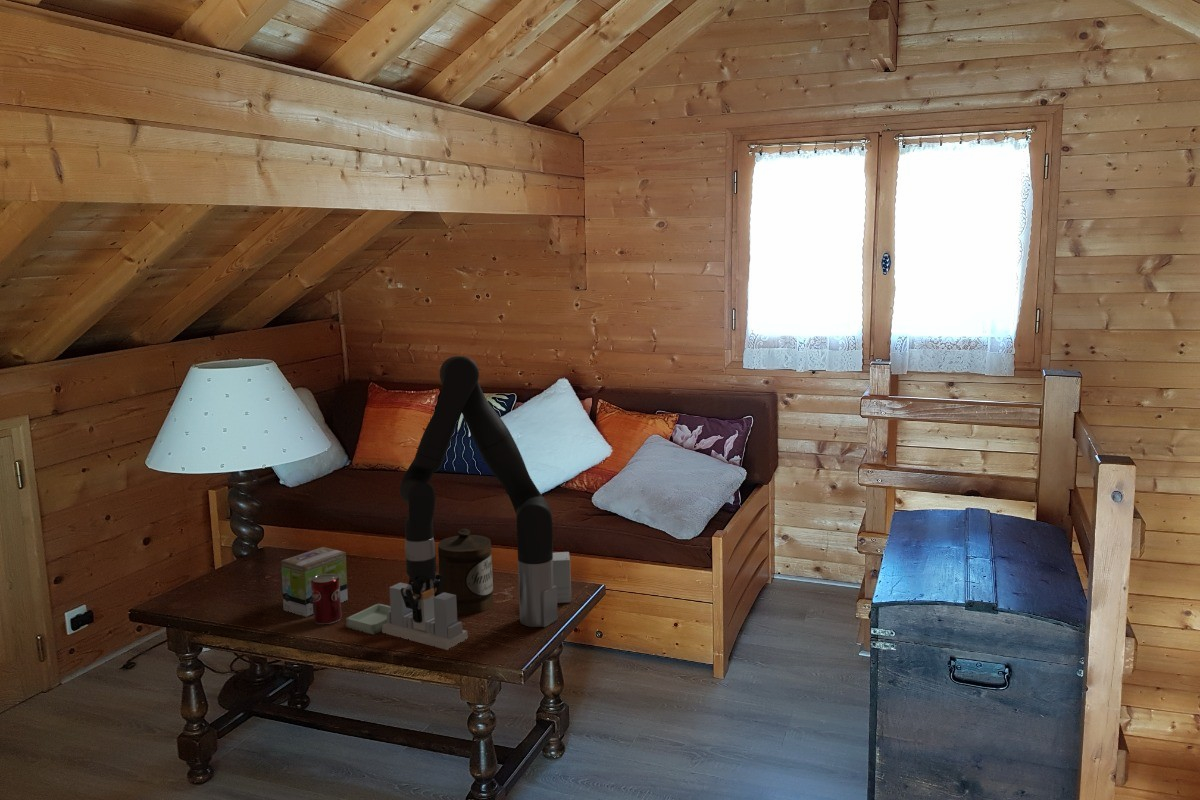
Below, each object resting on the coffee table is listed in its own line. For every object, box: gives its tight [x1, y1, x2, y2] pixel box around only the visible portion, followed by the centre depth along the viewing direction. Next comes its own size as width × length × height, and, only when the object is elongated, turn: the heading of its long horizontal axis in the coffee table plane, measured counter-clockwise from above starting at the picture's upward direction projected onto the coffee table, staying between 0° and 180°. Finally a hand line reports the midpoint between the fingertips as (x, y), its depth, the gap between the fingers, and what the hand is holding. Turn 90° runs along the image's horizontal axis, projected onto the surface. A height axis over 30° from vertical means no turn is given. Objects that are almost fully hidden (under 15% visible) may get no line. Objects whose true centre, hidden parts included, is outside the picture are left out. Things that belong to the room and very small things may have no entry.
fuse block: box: [381, 582, 469, 651], centre depth 239 cm, size 22×8×12 cm, turn 59°
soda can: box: [311, 574, 343, 625], centre depth 251 cm, size 7×7×12 cm
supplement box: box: [553, 551, 572, 604], centre depth 263 cm, size 7×7×13 cm
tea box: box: [280, 546, 349, 618], centre depth 261 cm, size 15×10×15 cm
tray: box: [345, 603, 391, 635], centre depth 249 cm, size 10×12×2 cm
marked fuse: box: [412, 589, 434, 631], centre depth 239 cm, size 4×4×10 cm
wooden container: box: [437, 528, 494, 615], centre depth 259 cm, size 15×15×22 cm
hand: (424, 618), depth 240 cm, fingers closed on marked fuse, 4 cm apart
